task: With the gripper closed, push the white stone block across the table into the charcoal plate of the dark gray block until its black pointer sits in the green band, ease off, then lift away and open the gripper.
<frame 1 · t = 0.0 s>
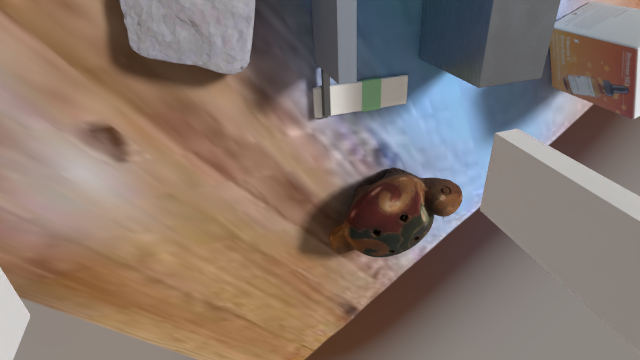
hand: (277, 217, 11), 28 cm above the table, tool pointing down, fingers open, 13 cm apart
gauge plate: (332, 16, 32), point 4 cm above the table, slide at 0.0 cm
small box: (568, 46, 46), on the table
decorative turtle: (376, 195, 48), on the table
pale flat strip: (360, 95, 41), on the table
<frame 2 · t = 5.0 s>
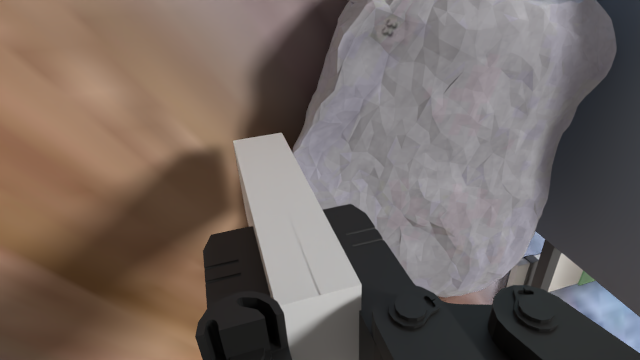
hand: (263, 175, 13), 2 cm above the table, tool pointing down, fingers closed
gauge plate: (639, 184, 15), point 4 cm above the table, slide at 0.0 cm
stone block: (396, 130, 16), on the table, touching gripper
pale flat strip: (579, 260, 24), on the table
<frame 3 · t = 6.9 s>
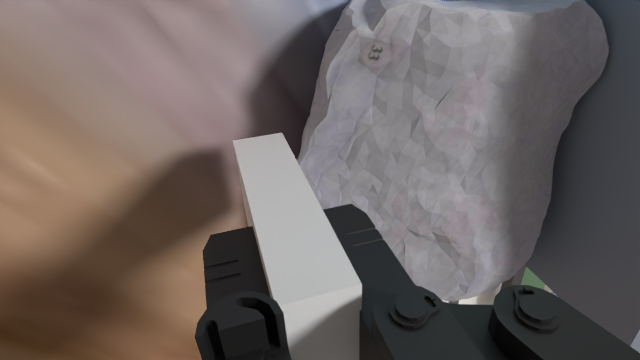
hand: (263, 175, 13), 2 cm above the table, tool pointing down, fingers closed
gauge plate: (596, 197, 15), point 4 cm above the table, slide at 2.7 cm
stone block: (395, 140, 16), on the table, touching gripper
pale flat strip: (511, 281, 23), on the table
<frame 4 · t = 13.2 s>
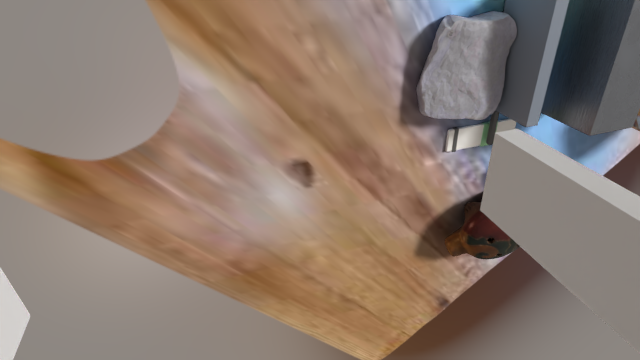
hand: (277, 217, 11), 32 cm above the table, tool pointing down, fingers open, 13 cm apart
gauge plate: (518, 77, 45), point 4 cm above the table, slide at 4.7 cm
small box: (635, 91, 57), on the table
decorative turtle: (478, 209, 60), on the table
stone block: (451, 65, 47), on the table
pale flat strip: (480, 133, 53), on the table
dark gray block: (560, 39, 49), on the table
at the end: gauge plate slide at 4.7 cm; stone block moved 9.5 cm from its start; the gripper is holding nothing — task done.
